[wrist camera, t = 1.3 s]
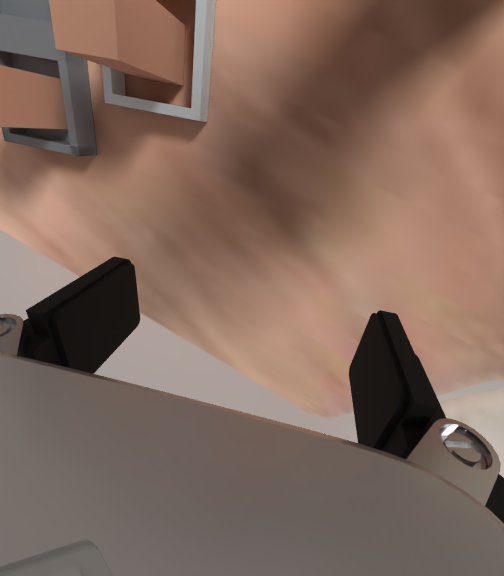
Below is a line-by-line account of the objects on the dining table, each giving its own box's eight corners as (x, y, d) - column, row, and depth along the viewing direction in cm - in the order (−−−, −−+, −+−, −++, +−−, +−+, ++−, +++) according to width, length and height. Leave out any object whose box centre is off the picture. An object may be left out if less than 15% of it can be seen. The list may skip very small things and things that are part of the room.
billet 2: (139, 18, 29) (41, -48, 18) (185, 26, 28) (111, -38, 18) (141, 78, 31) (55, 49, 21) (183, 85, 31) (118, 59, 20)
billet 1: (25, 72, 32) (-110, 42, 22) (64, 79, 32) (-55, 52, 22) (35, 121, 35) (-82, 115, 25) (71, 129, 34) (-32, 126, 24)
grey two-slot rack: (-25, -105, 27) (-65, -133, 24) (70, -93, 26) (41, -121, 23) (27, 140, 37) (4, 140, 34) (97, 154, 36) (79, 156, 33)
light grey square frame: (109, -27, 27) (92, -41, 25) (216, -11, 26) (208, -24, 24) (118, 105, 33) (104, 102, 31) (207, 122, 32) (199, 121, 30)
